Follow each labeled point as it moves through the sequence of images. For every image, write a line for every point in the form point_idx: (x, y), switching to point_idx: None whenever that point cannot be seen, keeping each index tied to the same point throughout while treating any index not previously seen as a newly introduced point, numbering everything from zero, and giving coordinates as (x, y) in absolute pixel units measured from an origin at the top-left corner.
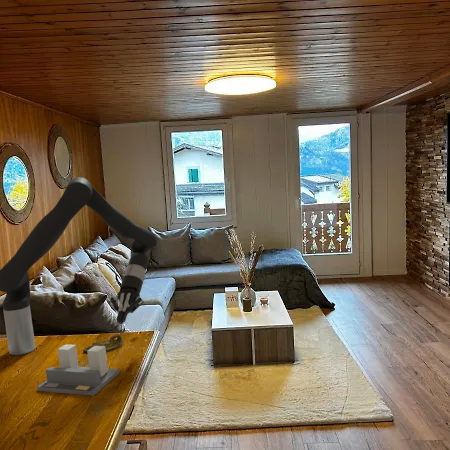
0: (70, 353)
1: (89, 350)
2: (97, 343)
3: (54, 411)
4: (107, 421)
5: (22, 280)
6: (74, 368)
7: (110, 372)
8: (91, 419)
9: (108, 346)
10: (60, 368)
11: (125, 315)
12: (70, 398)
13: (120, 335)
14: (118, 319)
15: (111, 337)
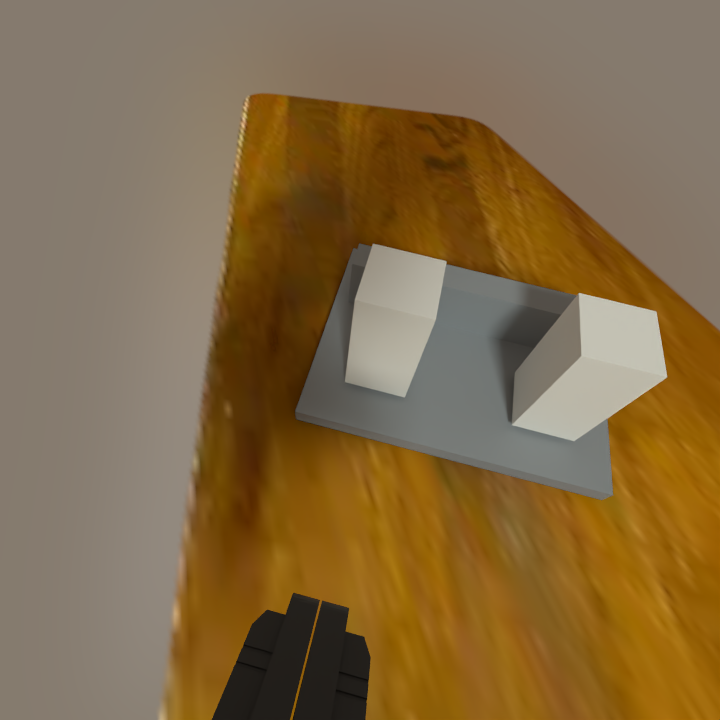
0: (564, 324)
1: (435, 264)
2: None
3: (441, 203)
4: (266, 149)
5: None
6: (520, 386)
7: (333, 384)
8: (314, 161)
9: None
10: (556, 307)
11: (218, 710)
12: (429, 255)
13: None
14: (328, 617)
15: None
